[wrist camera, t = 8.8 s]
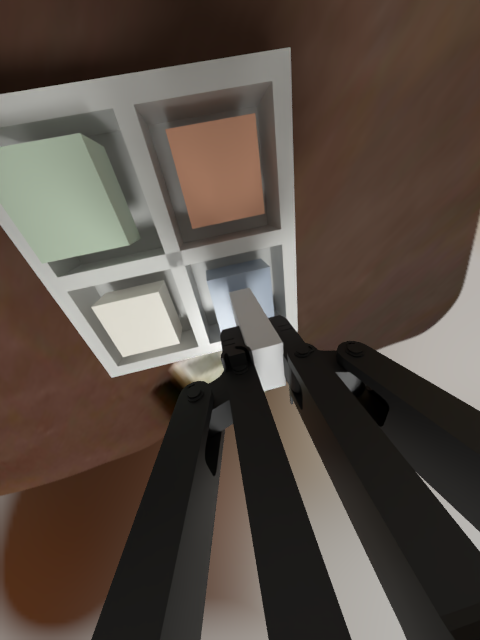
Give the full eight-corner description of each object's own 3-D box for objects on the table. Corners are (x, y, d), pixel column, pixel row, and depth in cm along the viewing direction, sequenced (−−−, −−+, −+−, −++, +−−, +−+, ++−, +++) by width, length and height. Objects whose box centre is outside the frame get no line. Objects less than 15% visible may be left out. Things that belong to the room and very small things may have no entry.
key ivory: (133, 335, 19) (123, 357, 16) (108, 290, 16) (90, 307, 14) (182, 323, 19) (180, 343, 16) (165, 277, 17) (158, 291, 14)
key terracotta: (193, 224, 15) (192, 229, 12) (172, 144, 13) (165, 129, 10) (253, 211, 15) (264, 213, 13) (243, 131, 13) (255, 113, 10)
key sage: (73, 251, 13) (42, 263, 11) (22, 164, 11) (-35, 152, 8) (143, 236, 14) (129, 245, 11) (108, 149, 11) (79, 132, 9)
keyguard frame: (124, 352, 21) (111, 377, 18) (-15, 131, 12) (-85, 108, 9) (284, 314, 22) (297, 331, 19) (269, 82, 13) (290, 47, 10)
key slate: (218, 315, 19) (220, 333, 17) (205, 268, 17) (206, 280, 14) (264, 304, 19) (274, 320, 17) (259, 256, 17) (269, 266, 14)
